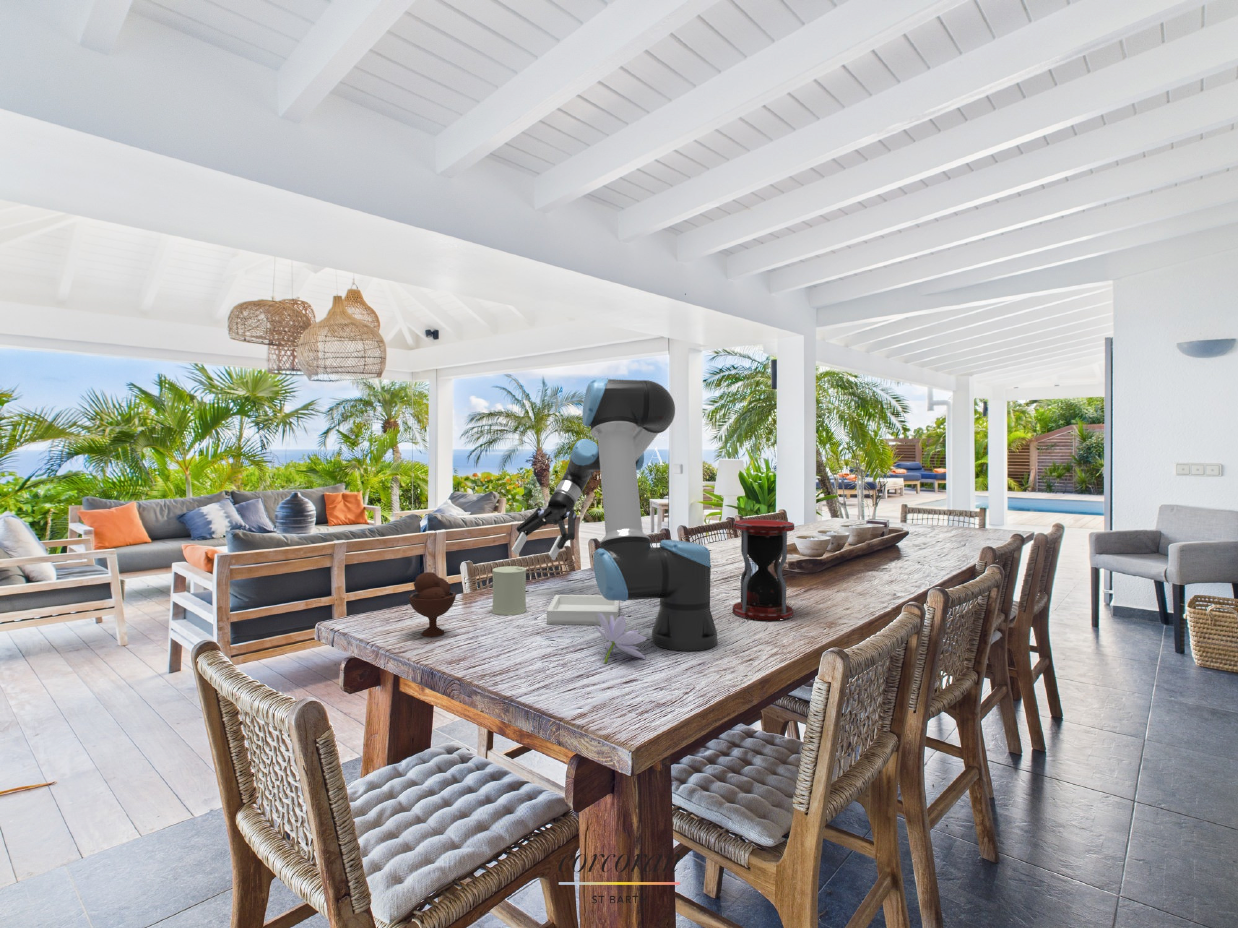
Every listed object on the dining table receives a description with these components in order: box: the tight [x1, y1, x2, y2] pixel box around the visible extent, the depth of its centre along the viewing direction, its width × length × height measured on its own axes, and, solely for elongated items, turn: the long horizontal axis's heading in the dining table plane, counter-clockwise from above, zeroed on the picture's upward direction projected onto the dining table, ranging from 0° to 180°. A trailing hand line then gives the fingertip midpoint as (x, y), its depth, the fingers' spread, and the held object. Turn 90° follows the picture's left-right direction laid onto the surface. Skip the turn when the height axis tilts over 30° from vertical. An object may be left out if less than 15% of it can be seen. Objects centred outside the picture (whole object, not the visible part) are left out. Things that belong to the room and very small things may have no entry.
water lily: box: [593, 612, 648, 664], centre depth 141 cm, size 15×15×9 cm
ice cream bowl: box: [408, 571, 457, 638], centre depth 160 cm, size 11×11×15 cm
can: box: [491, 565, 527, 616], centre depth 182 cm, size 9×9×12 cm
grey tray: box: [546, 594, 621, 626], centre depth 178 cm, size 18×18×4 cm
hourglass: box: [732, 518, 795, 622], centre depth 181 cm, size 16×16×25 cm
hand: (532, 554), depth 191 cm, fingers open, 13 cm apart
